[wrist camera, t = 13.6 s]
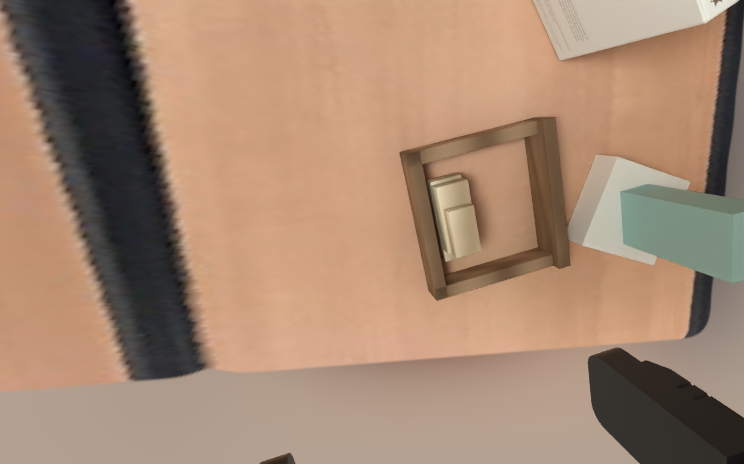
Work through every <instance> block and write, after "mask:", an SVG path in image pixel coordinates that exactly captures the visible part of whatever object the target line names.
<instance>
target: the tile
mask: <svg viewBox="0 0 744 464" xmlns="http://www.w3.org/2000/svg"><path fill="white" fill-rule="evenodd" d="M645 184H652V185H658V186H664V187H670V188H676V189H681V190H687V189H688V187H689V184H690V181H687V180H684V179H681V178H678V177H675V176H672V175H669V174H666V173H664V172H661V171H658V170H655V169H652V168H649V167H646V166H643V165H640V164H638V163H635V162H632V161H629V160H626V159H623V158H620V157H616V156H606V155H596V156H595V159H594V161H593V164H592V166H591V169H590V171H589V174H588V176H587V179H586V181H585V184H584V187H583V189H582V192H581V194H580V197H579V199H578V202H577V204H576V207H575V209H574V212H573V215H572V217H571V220H570V222H569V225H568V227H567V235H568V240H570V241H572V242H575V243H577V244H579V245H582V246H585V247H589V248H592V249H596V250H600V251H603V252H607V253H610V254H614V255H618V256H621V257H625V258H628V259H632V260H636V261H639V262H643V263H646V264H650V265H654V263H655V261H656V259H657V256H655V255H652V254H649V253H646V252H644V251H641V250H638V249H635V248H633V247H630V246H627V245H624V244H623V231H622V214H621V198H620V191H624V190H627V189H631V188H634V187H638V186H642V185H645Z"/></svg>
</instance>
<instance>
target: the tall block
mask: <svg viewBox="0 0 744 464" xmlns="http://www.w3.org/2000/svg"><path fill="white" fill-rule="evenodd" d="M620 198H621V214H622V231H623V244H624V245H627V246H630V247H633V248H635V249H638V250H641V251H644V252H646V253H649V254H652V255H655V256H657V257H660V258H663V259H666V260H668V261H671V262H674V263H677V264H679V265H682V266H685V267H688V268H690V269H693V270H696V271H699V272H701V273H704V274H707V275H710V276H712V277H715V278H718V279H721V280H723V281H727V282H729V283H735V282H738V281H742V280H744V200H741V199H734V198H728V197H723V196H717V195H711V194H705V193H699V192H693V191H687V190H681V189H676V188H670V187H664V186H658V185H652V184H645V185H642V186H638V187H634V188H631V189H627V190H624V191H620Z"/></svg>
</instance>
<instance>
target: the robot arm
mask: <svg viewBox="0 0 744 464" xmlns="http://www.w3.org/2000/svg"><path fill="white" fill-rule="evenodd" d="M588 370H589V381H590V392H591V402H592V407H593V410H594V413H595V415H596V417H597V419H598V420H599V422H600V423H601V425H602V426H603V427H604V428H605V429H606V430H607V431H608V432H609V433H610V434H611V435H612V436H613V437H614V438H615V439H616V440H617V441H618V442H619V443H620V444H621V445H622V446H623V447H624V448H625V449H626V450H627V451H628V452H629V453H630V454H631V455H632V456H633V457H634V458H635V459H636V460H637V461H638V462H639V463H640V464H744V418H743V417H742V416H740V415H739V414H737V413H736V412H734V411H733V410H731V409H730V408H728V407H727V406H725V405H724V404H722V403H721V402H719V401H718V400H716V399H715V398H713V397H712V396H711V397H709V396H708V395H707V393H706V392H704V391H703V390H701V389H699V388H698V387H697V386H695V385H693V386H692V385H691V383H690V382H689V381H688V380H686V379H684V378H683V377H681V376H680V375H678V374H677V373H675V372H674V371H672V370H671V369H668V368H666V367H663V366H660V365H658V364H655V363H652V362H650V361H643V362H640V361H639V360H637V359H636V358H635V357H633V356H632V355H630V354H629V353H628V352H626V351H624V350H623V349H621V348H614V349H611V350H607V351H604V352H601V353H598V354H595V355H592V356H590V357H589V359H588ZM260 464H295V461H294V459H293V456H292V455H291V453H288V454H285V455H281V456H278V457H275V458H272V459H269V460H266V461H263V462H261V463H260Z"/></svg>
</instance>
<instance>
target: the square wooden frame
mask: <svg viewBox="0 0 744 464" xmlns="http://www.w3.org/2000/svg"><path fill="white" fill-rule="evenodd" d="M524 137H525V145H526V153H527V161H528V169H529V178H530V186H531V194H532V202H533V210H534V218H535V226H536V234H537V242H538V248H535V249H532V250H528V251H525V252H521V253H518V254H515V255H511V256H508V257H504V258H501V259H498V260H494V261H491V262H487V263H484V264H481V265H477V266H474V267H470V268H467V269H464V270H460V271H457V272H453V273H450V274H447V275H444V273H443V268H442V263H441V257H440V252H439V247H438V242H437V237H436V232H435V227H434V222H433V217H432V212H431V207H430V202H429V196H428V191H427V186H426V181H425V176H424V171H423V166H422V164H425V163H429V162H432V161H436V160H440V159H444V158H448V157H451V156H455V155H459V154H463V153H467V152H471V151H474V150H478V149H482V148H486V147H490V146H493V145H497V144H501V143H505V142H509V141H513V140H516V139H520V138H524ZM400 156H401V161H402V166H403V171H404V175H405V180H406V185H407V190H408V194H409V199H410V204H411V209H412V213H413V218H414V223H415V228H416V232H417V237H418V242H419V247H420V251H421V256H422V261H423V266H424V271H425V275H426V280H427V285H428V290H429V292H430V293H431V294H432V296H433V297H434V298H435V299H436V300H441V299H444V298H447V297H451V296H454V295H457V294H461V293H464V292H467V291H471V290H474V289H477V288H481V287H484V286H487V285H491V284H494V283H497V282H501V281H504V280H507V279H511V278H514V277H517V276H521V275H524V274H527V273H531V272H534V271H537V270H541V269H544V268H547V267H551V266H555V267H557V268H559V269H561V268H564V267H567V266H571V265H570V255H569V245H568V235H567V226H566V216H565V206H564V196H563V187H562V177H561V167H560V157H559V148H558V138H557V128H556V118H555V117H545V118H531V119H527V120H523V121H519V122H516V123H512V124H508V125H504V126H500V127H496V128H492V129H488V130H484V131H481V132H477V133H473V134H469V135H465V136H461V137H457V138H453V139H449V140H446V141H442V142H438V143H434V144H430V145H426V146H422V147H418V148H414V149H410V150H407V151H403V152H400Z"/></svg>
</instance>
